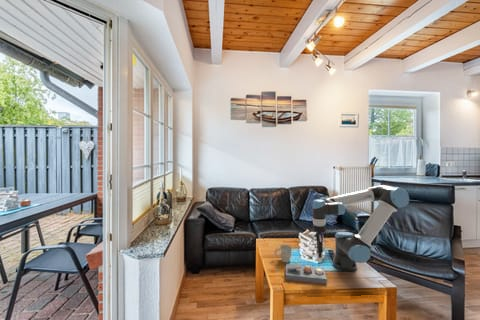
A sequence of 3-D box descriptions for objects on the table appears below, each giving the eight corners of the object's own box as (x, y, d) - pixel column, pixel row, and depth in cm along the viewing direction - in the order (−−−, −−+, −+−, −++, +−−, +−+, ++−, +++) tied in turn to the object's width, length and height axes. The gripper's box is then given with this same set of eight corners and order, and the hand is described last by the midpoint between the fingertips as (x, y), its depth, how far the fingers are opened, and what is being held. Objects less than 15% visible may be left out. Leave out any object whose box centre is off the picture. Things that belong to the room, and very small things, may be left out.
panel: (323, 272, 150) (323, 265, 149) (326, 284, 136) (326, 276, 136) (286, 268, 155) (286, 262, 155) (285, 279, 141) (285, 272, 141)
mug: (291, 263, 162) (291, 249, 161) (274, 262, 164) (274, 248, 164) (291, 258, 170) (291, 245, 170) (274, 257, 172) (274, 243, 172)
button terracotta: (310, 270, 147) (310, 265, 146) (311, 273, 142) (311, 268, 142) (304, 269, 147) (304, 264, 147) (304, 273, 143) (304, 268, 143)
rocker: (301, 264, 148) (300, 262, 148) (301, 268, 143) (300, 266, 143) (288, 266, 150) (288, 264, 150) (288, 269, 145) (288, 268, 145)
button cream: (322, 273, 145) (322, 268, 145) (323, 277, 141) (323, 272, 141) (315, 273, 146) (315, 268, 146) (316, 276, 142) (316, 271, 142)
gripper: (311, 221, 150) (312, 256, 150) (313, 227, 137) (314, 266, 138) (323, 221, 148) (324, 257, 149) (327, 228, 135) (327, 267, 136)
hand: (319, 261), depth 143 cm, fingers closed
